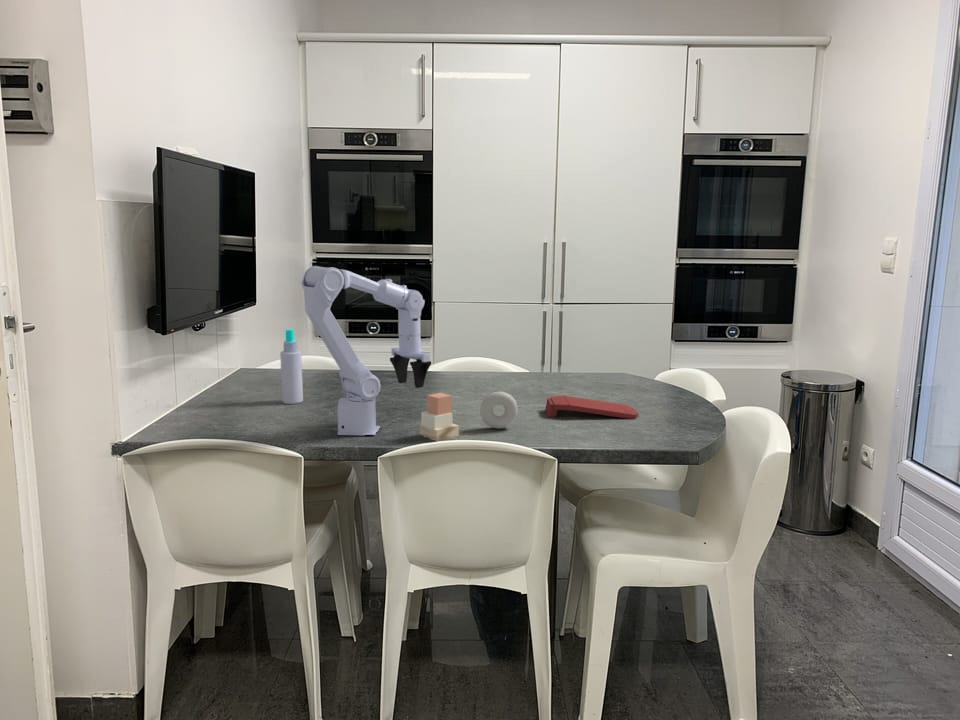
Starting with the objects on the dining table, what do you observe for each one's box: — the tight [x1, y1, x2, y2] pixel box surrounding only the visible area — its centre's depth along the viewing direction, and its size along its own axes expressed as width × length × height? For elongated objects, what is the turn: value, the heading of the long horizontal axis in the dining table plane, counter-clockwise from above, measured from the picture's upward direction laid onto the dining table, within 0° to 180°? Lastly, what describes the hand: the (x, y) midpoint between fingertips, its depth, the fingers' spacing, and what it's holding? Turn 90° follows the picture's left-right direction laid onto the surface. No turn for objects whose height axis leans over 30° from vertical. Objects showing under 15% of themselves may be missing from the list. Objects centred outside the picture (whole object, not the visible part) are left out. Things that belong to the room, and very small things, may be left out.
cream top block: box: [420, 410, 454, 429], centre depth 184 cm, size 6×6×3 cm
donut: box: [479, 391, 519, 430], centre depth 191 cm, size 10×4×10 cm, turn 96°
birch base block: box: [419, 423, 460, 442], centre depth 185 cm, size 7×7×3 cm
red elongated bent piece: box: [544, 395, 640, 420], centre depth 208 cm, size 12×5×25 cm
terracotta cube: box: [426, 392, 453, 415], centre depth 184 cm, size 4×4×4 cm
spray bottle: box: [279, 328, 304, 405], centre depth 218 cm, size 6×6×22 cm
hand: (410, 384), depth 196 cm, fingers open, 7 cm apart
